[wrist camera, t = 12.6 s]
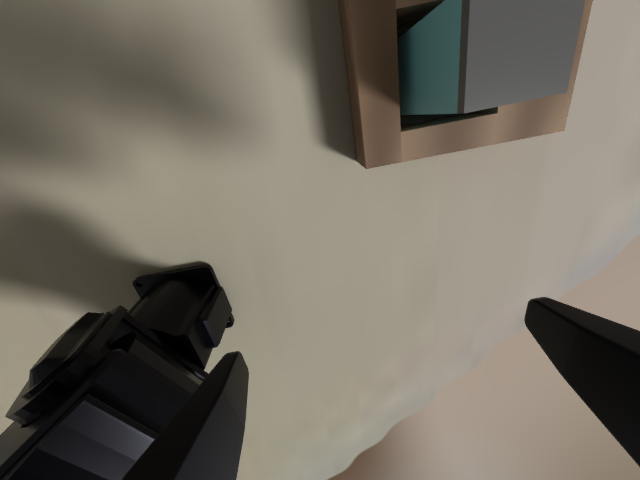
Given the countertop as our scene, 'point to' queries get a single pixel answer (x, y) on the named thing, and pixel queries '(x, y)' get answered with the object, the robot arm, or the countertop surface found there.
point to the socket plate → (384, 104)
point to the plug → (487, 54)
